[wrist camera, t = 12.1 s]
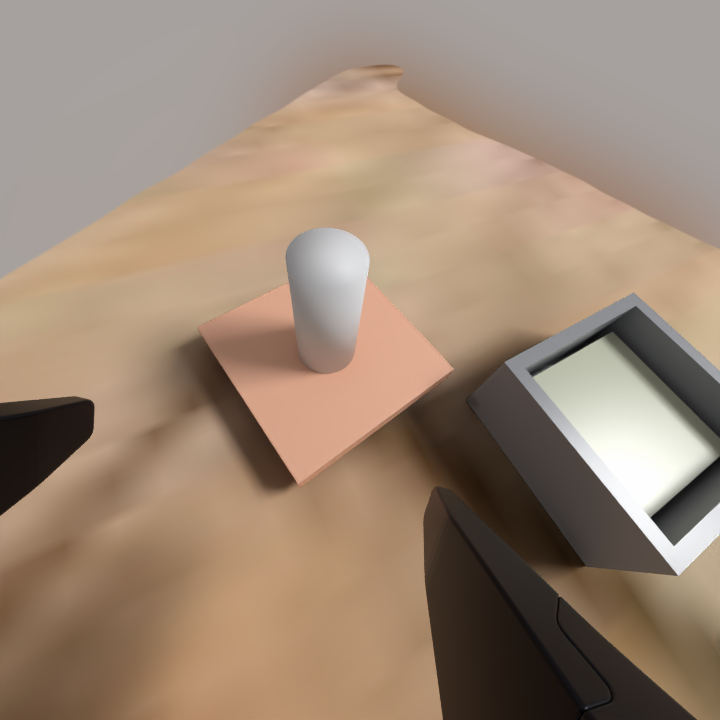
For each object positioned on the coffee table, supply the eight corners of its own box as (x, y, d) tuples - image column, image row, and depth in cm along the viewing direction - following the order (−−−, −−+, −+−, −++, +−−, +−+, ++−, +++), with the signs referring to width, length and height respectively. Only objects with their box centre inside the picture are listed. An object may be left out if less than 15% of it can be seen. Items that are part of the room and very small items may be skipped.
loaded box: (698, 468, 20) (804, 448, 16) (586, 566, 17) (678, 575, 13) (576, 338, 24) (633, 292, 19) (465, 399, 21) (504, 361, 16)
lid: (442, 384, 21) (515, 288, 13) (301, 490, 18) (281, 447, 9) (344, 277, 25) (354, 147, 16) (208, 346, 21) (136, 224, 13)
